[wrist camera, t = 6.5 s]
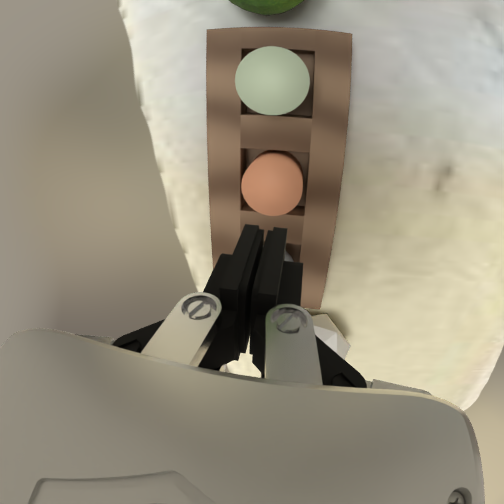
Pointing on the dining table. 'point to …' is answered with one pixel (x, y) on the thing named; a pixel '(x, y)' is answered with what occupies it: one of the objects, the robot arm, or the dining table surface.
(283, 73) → the button sage
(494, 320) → the dining table surface
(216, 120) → the board
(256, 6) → the avocado
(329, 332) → the die
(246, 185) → the button terracotta
